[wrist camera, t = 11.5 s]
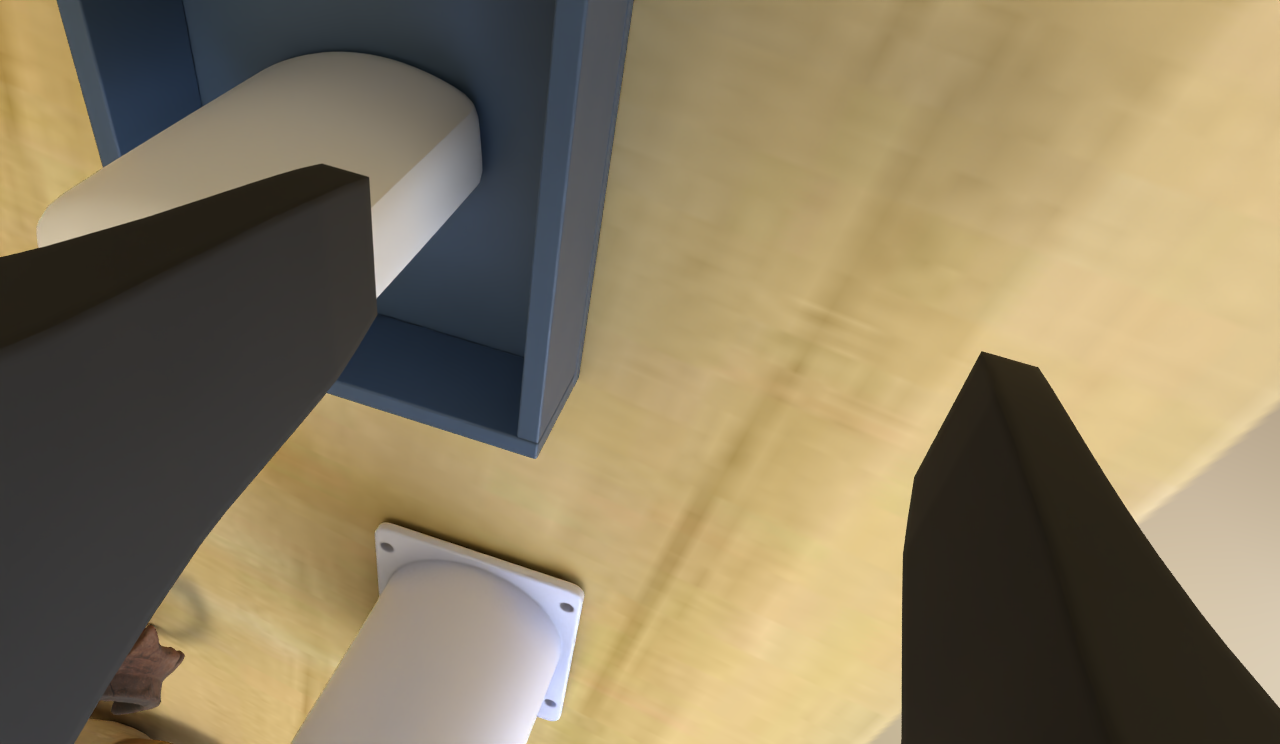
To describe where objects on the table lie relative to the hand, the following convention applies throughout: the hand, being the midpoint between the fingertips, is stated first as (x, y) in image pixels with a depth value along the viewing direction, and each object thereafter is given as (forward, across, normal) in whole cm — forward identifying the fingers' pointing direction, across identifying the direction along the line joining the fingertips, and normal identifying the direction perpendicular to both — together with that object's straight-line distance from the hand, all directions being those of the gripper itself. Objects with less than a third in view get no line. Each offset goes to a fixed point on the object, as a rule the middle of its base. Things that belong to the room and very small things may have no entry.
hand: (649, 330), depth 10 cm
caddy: (+10, +9, +4) cm, 14 cm away
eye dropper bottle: (+10, +9, +4) cm, 14 cm away
